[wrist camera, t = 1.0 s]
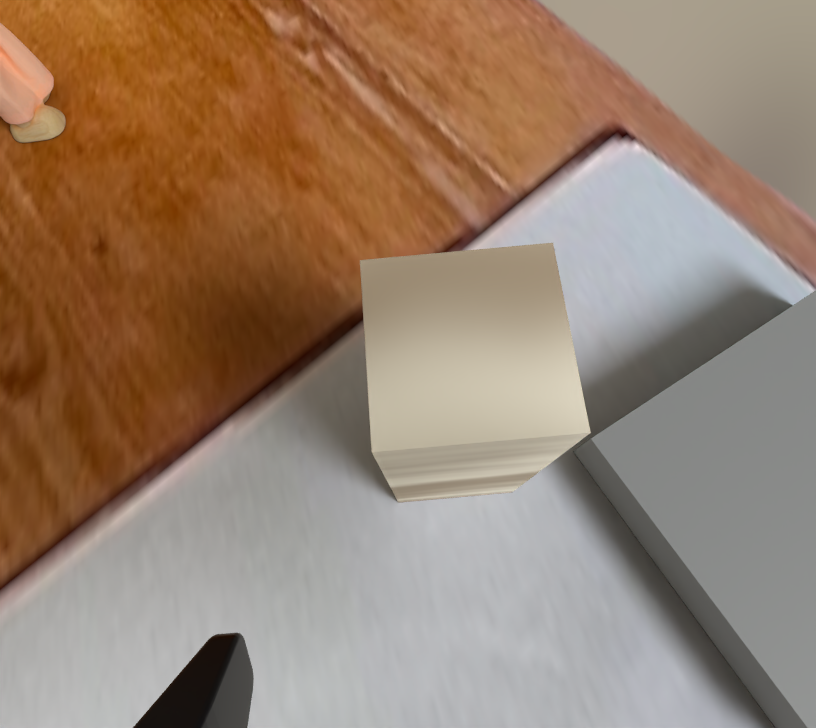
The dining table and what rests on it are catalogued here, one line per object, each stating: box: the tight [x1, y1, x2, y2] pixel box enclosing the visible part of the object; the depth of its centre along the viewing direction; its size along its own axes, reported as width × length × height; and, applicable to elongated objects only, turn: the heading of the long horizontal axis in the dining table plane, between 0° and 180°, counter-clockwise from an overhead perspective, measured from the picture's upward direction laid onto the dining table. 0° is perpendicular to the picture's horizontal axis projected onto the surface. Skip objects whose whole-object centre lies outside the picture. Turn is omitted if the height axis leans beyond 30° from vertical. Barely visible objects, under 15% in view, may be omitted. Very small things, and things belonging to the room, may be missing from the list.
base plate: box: [573, 291, 816, 728], centre depth 20 cm, size 12×12×2 cm
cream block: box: [360, 243, 591, 502], centre depth 17 cm, size 4×4×11 cm
